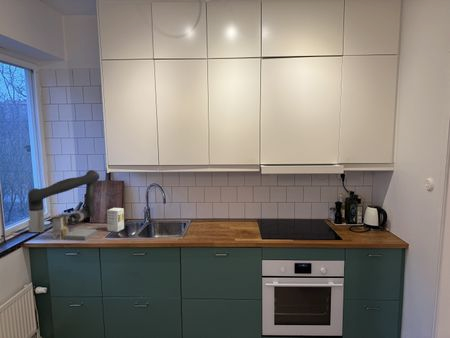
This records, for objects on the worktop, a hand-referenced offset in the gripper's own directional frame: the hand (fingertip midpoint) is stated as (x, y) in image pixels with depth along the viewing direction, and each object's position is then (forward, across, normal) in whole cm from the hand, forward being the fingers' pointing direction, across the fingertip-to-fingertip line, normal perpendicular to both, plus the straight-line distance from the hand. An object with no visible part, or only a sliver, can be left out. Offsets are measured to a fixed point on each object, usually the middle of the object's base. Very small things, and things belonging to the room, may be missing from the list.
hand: (63, 223), depth 209 cm
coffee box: (+3, 0, +10) cm, 10 cm away
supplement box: (-18, +31, +10) cm, 37 cm away
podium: (-1, +13, +10) cm, 16 cm away
